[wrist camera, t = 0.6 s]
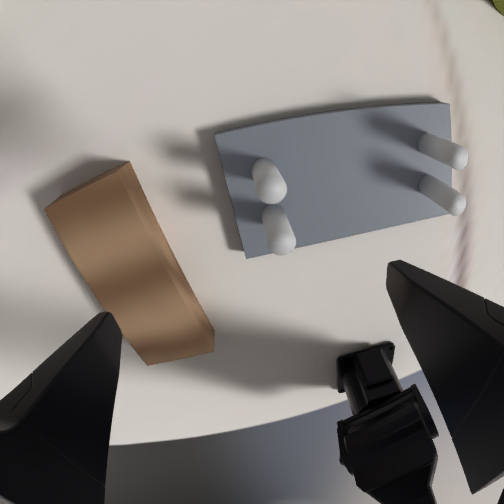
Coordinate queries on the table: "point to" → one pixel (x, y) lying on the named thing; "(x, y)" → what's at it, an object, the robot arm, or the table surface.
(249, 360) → the table surface
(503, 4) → the plant pot
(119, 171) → the shelf board
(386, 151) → the peg stand
